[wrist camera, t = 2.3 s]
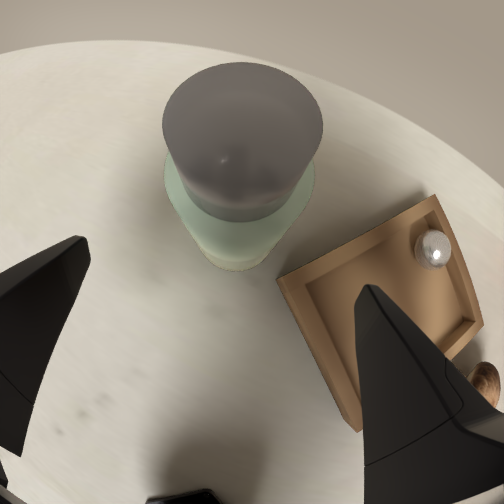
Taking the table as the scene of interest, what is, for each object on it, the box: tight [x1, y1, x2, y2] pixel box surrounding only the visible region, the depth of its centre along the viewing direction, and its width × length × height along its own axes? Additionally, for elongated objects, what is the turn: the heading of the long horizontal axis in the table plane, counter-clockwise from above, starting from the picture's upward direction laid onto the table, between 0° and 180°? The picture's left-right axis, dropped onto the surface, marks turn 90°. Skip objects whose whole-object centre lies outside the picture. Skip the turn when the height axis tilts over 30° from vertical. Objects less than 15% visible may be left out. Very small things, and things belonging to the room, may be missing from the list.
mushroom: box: [466, 362, 501, 408], centre depth 16 cm, size 8×8×6 cm
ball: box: [414, 229, 451, 271], centre depth 17 cm, size 3×3×3 cm
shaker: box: [162, 62, 323, 271], centre depth 13 cm, size 5×5×13 cm
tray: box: [276, 194, 484, 433], centre depth 18 cm, size 14×12×2 cm
